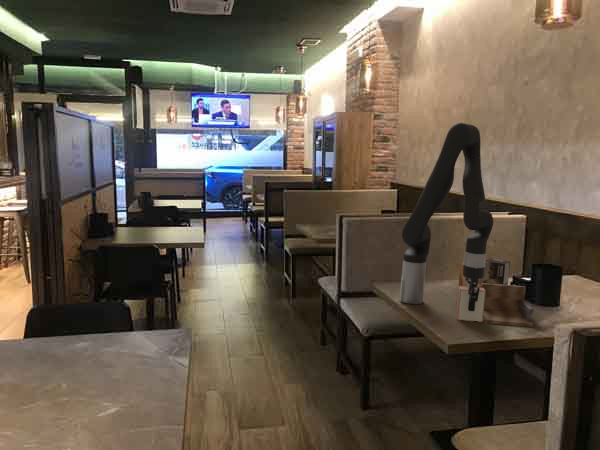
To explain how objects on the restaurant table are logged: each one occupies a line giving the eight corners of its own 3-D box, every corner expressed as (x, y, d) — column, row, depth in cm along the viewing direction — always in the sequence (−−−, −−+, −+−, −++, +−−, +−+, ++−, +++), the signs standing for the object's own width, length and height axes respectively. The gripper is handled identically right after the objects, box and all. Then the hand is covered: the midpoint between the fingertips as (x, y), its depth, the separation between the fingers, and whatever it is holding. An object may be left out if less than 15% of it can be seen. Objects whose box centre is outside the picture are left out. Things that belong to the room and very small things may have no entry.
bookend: (487, 323, 180) (490, 293, 178) (479, 310, 194) (482, 283, 192) (532, 326, 178) (536, 297, 176) (521, 313, 192) (524, 286, 190)
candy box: (481, 302, 203) (485, 267, 201) (476, 305, 200) (480, 268, 198) (461, 297, 210) (464, 262, 207) (456, 299, 207) (459, 264, 204)
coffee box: (507, 297, 211) (511, 261, 209) (501, 301, 207) (505, 264, 204) (486, 292, 217) (489, 257, 214) (480, 296, 213) (484, 259, 210)
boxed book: (457, 320, 182) (460, 289, 180) (455, 316, 186) (458, 286, 184) (482, 322, 181) (485, 291, 179) (480, 318, 185) (483, 287, 183)
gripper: (460, 259, 187) (456, 301, 190) (467, 268, 173) (462, 314, 176) (480, 260, 186) (476, 303, 189) (489, 269, 172) (484, 316, 175)
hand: (470, 308), depth 183 cm, fingers closed on boxed book, 4 cm apart
